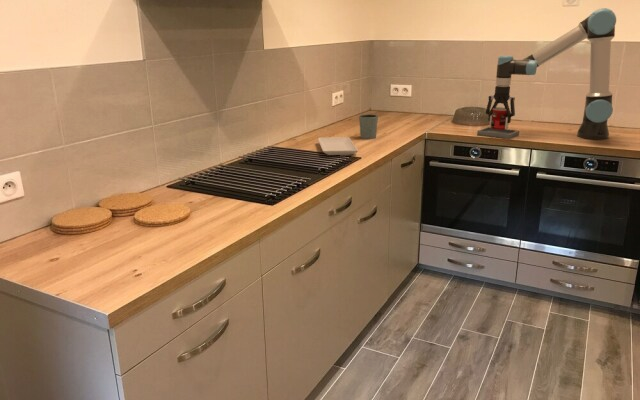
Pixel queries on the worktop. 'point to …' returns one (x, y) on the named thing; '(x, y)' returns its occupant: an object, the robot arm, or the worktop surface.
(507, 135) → the tray
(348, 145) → the tray
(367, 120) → the grey green cup
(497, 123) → the canned food
